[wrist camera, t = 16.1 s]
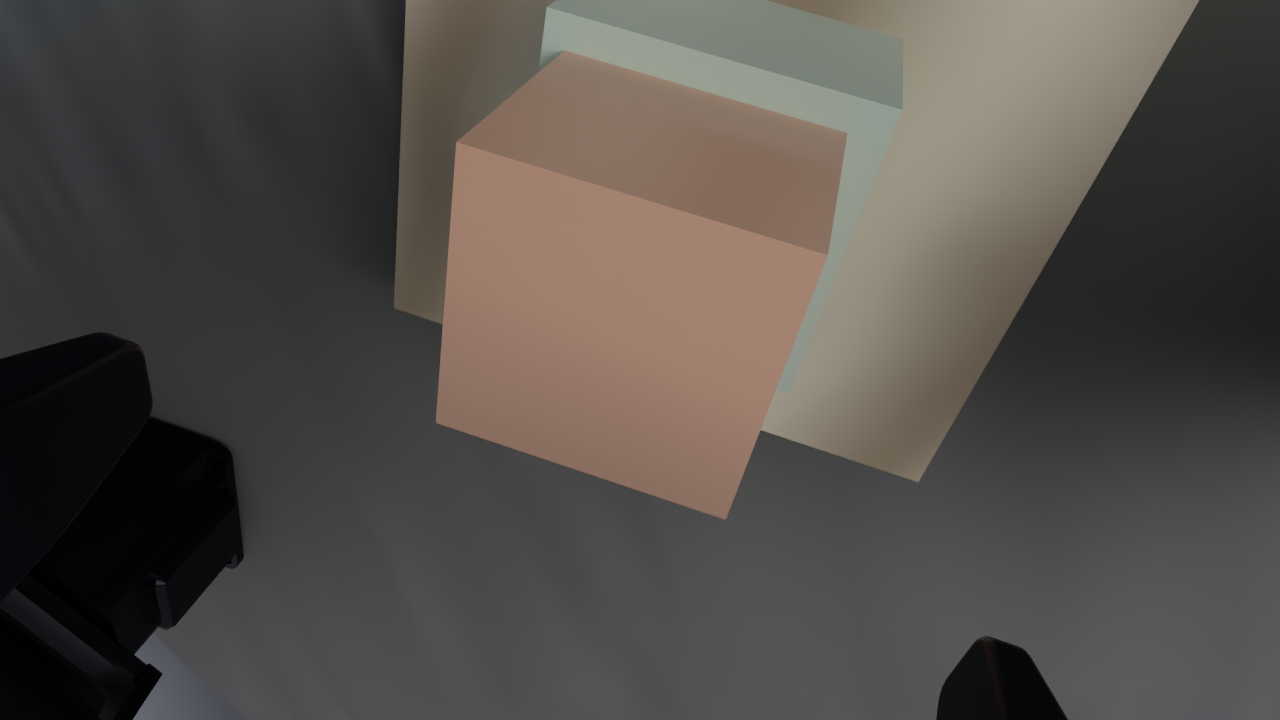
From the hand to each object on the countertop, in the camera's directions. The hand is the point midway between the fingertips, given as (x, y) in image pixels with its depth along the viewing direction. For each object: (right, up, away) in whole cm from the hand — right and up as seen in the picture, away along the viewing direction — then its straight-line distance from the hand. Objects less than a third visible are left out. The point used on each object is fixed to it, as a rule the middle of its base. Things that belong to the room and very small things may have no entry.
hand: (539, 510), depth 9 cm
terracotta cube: (+2, +4, +6) cm, 7 cm away
